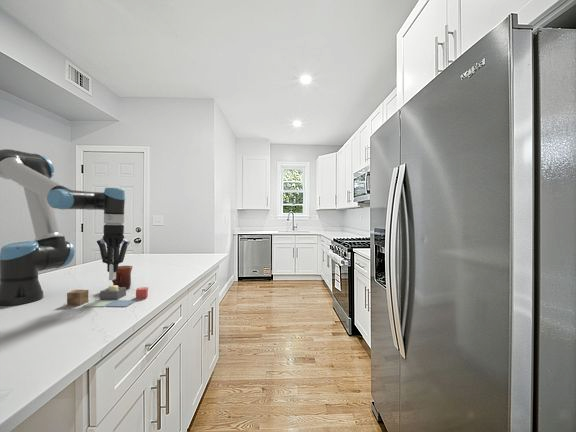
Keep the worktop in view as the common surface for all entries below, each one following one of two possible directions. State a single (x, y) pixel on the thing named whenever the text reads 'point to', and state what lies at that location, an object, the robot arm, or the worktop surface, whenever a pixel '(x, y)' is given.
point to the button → (113, 288)
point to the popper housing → (112, 294)
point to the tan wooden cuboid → (77, 297)
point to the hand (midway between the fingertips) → (112, 279)
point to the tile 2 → (120, 303)
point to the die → (142, 293)
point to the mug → (123, 277)
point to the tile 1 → (99, 303)
